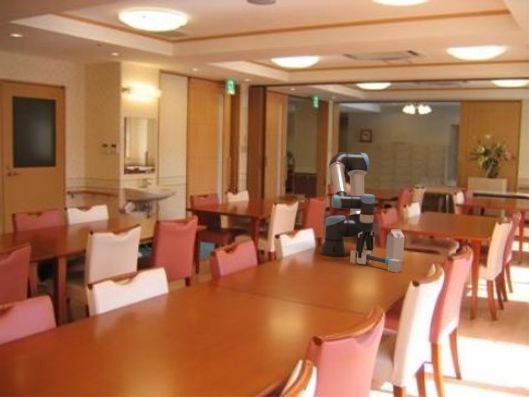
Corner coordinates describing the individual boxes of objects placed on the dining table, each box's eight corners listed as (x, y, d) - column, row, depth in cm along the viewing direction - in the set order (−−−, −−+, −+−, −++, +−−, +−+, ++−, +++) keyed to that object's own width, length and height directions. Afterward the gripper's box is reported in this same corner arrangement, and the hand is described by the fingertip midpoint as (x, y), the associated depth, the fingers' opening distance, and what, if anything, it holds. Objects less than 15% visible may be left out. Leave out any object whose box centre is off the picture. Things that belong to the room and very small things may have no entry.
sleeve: (356, 262, 316) (357, 250, 316) (363, 261, 321) (364, 249, 320) (364, 264, 313) (365, 252, 312) (370, 262, 318) (371, 250, 317)
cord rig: (350, 262, 321) (350, 250, 320) (355, 261, 324) (355, 249, 323) (395, 272, 300) (396, 259, 300) (400, 271, 304) (401, 258, 303)
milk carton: (385, 260, 330) (387, 228, 329) (395, 260, 334) (397, 228, 332) (392, 263, 324) (395, 230, 322) (402, 262, 327) (405, 230, 325)
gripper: (362, 224, 305) (359, 266, 308) (381, 221, 319) (379, 261, 321) (350, 222, 310) (348, 263, 313) (370, 219, 324) (368, 259, 327)
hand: (363, 262), depth 317 cm, fingers closed on sleeve, 6 cm apart
